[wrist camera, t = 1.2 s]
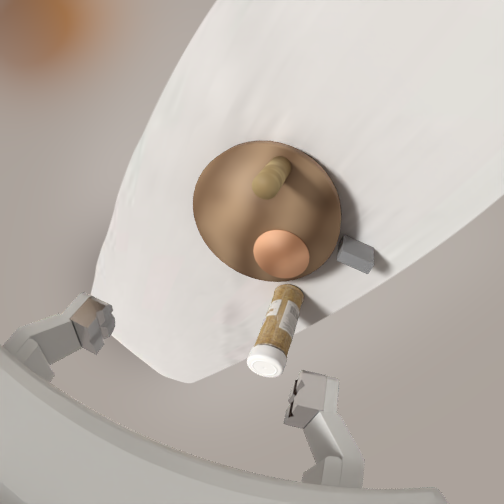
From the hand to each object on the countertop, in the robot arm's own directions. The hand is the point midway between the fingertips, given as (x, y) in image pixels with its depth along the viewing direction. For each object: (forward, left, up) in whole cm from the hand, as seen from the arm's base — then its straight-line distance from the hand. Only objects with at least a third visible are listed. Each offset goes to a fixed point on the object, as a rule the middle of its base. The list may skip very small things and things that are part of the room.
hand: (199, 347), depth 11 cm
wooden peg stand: (+2, +8, -26) cm, 28 cm away
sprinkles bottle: (-5, +20, -27) cm, 34 cm away
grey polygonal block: (-10, +8, -26) cm, 29 cm away
